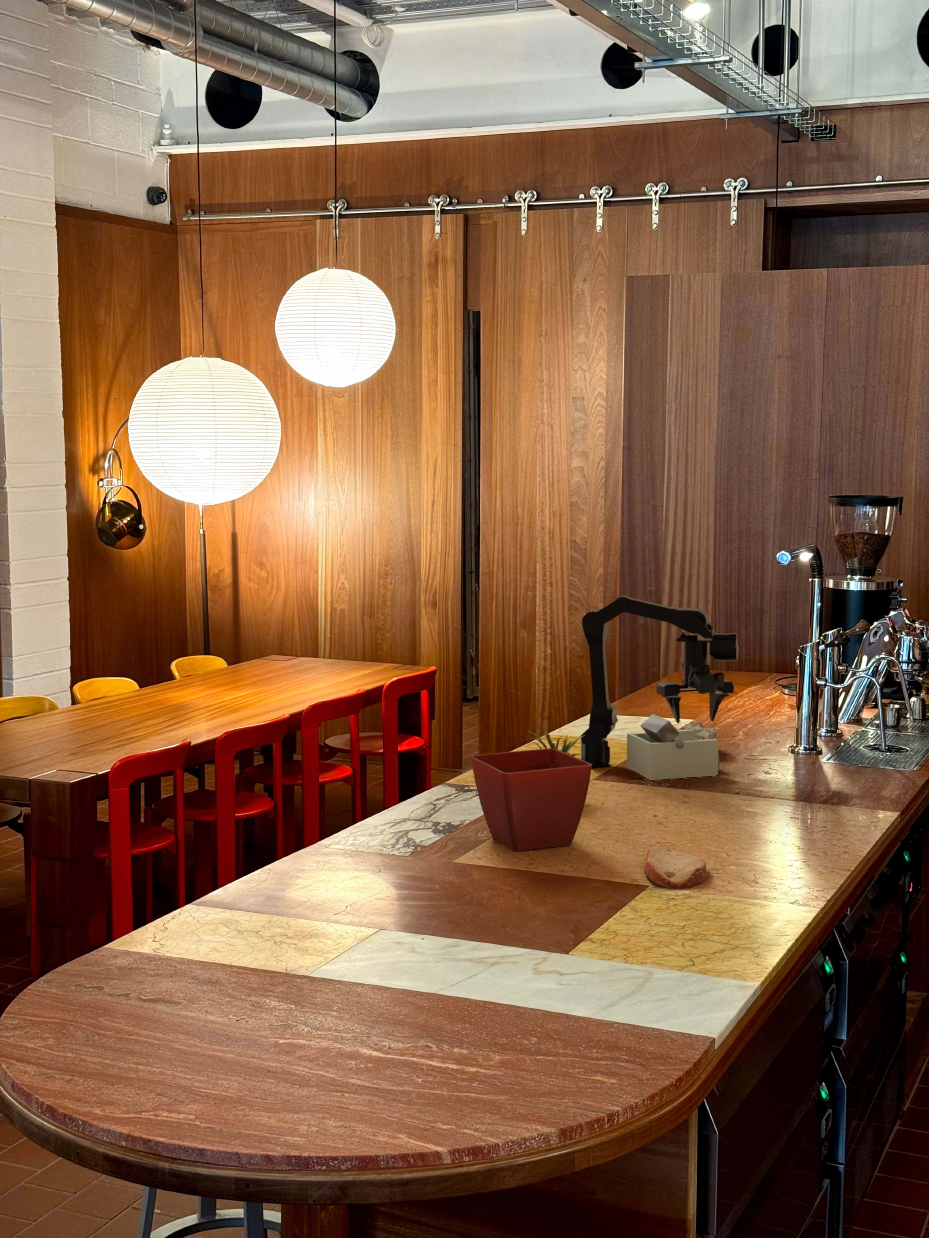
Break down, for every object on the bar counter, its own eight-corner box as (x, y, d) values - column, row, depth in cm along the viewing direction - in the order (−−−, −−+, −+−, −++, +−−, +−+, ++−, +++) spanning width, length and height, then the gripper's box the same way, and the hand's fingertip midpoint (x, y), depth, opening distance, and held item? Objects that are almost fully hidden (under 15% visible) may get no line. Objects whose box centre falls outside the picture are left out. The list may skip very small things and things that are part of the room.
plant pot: (469, 834, 279) (469, 754, 277) (554, 825, 286) (553, 747, 284) (504, 858, 261) (504, 773, 260) (593, 848, 268) (594, 764, 266)
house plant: (509, 800, 308) (509, 730, 306) (535, 788, 320) (535, 720, 318) (567, 807, 301) (567, 735, 299) (591, 794, 313) (591, 725, 311)
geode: (673, 779, 352) (729, 767, 353) (671, 749, 348) (727, 737, 348) (656, 744, 367) (710, 733, 368) (653, 715, 363) (708, 704, 363)
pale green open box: (650, 781, 326) (650, 743, 325) (626, 768, 341) (626, 731, 340) (718, 776, 331) (719, 738, 330) (691, 763, 346) (692, 727, 345)
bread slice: (661, 854, 265) (661, 835, 264) (737, 873, 252) (738, 853, 251) (600, 873, 252) (600, 853, 252) (678, 894, 239) (678, 873, 239)
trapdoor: (657, 733, 327) (670, 721, 328) (638, 724, 339) (651, 713, 339) (695, 779, 331) (707, 767, 332) (675, 769, 343) (687, 757, 343)
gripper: (674, 665, 325) (673, 729, 326) (745, 662, 330) (744, 725, 331) (655, 659, 335) (655, 721, 337) (724, 656, 340) (723, 717, 342)
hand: (695, 721), depth 336 cm, fingers open, 9 cm apart
